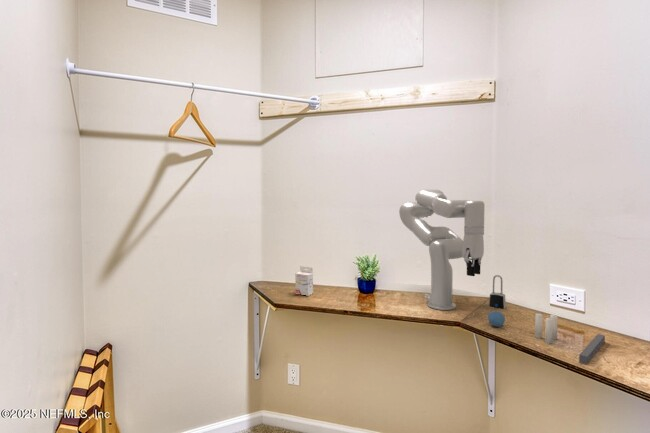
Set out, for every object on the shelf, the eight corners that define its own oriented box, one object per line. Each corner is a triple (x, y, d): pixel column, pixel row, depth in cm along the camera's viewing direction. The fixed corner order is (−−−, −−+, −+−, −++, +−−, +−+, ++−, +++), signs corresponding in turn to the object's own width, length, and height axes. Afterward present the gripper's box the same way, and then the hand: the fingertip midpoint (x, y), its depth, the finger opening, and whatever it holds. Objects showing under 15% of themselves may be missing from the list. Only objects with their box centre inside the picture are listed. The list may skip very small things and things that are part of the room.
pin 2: (548, 338, 126) (549, 315, 126) (550, 337, 127) (551, 314, 127) (555, 340, 124) (556, 317, 124) (557, 338, 126) (558, 315, 125)
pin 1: (544, 342, 123) (544, 318, 122) (546, 340, 124) (546, 317, 124) (551, 344, 121) (551, 320, 121) (553, 342, 123) (554, 319, 122)
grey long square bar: (579, 362, 108) (579, 354, 108) (597, 340, 124) (597, 333, 124) (587, 364, 107) (587, 356, 106) (604, 342, 122) (604, 335, 122)
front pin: (534, 337, 127) (534, 314, 127) (536, 335, 129) (536, 313, 128) (540, 339, 126) (541, 316, 125) (542, 337, 127) (543, 314, 127)
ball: (485, 326, 139) (485, 311, 139) (491, 322, 143) (492, 307, 142) (500, 330, 134) (501, 315, 134) (507, 326, 138) (507, 311, 138)
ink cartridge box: (295, 294, 186) (294, 267, 186) (300, 292, 191) (300, 265, 190) (308, 297, 182) (307, 269, 181) (313, 294, 186) (313, 267, 185)
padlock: (488, 306, 163) (488, 275, 162) (490, 304, 166) (490, 273, 165) (504, 309, 159) (504, 276, 158) (506, 307, 162) (506, 275, 161)
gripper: (474, 228, 152) (474, 270, 153) (455, 231, 141) (454, 276, 142) (492, 229, 146) (491, 273, 147) (473, 233, 135) (472, 279, 136)
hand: (473, 274), depth 145 cm, fingers open, 4 cm apart
